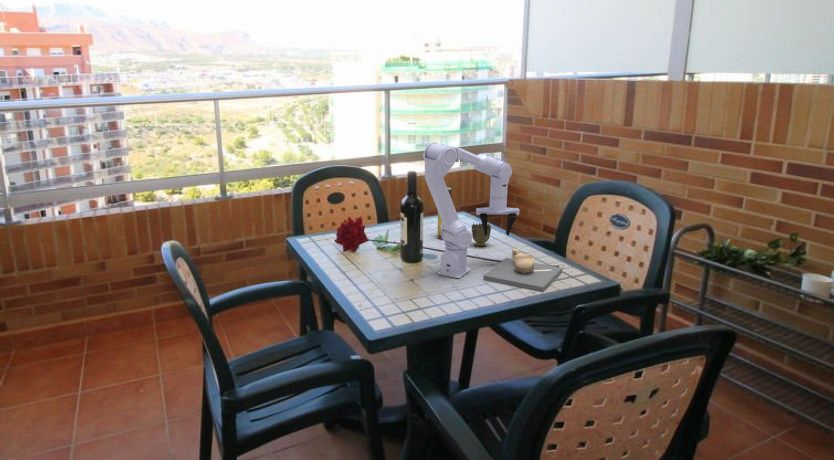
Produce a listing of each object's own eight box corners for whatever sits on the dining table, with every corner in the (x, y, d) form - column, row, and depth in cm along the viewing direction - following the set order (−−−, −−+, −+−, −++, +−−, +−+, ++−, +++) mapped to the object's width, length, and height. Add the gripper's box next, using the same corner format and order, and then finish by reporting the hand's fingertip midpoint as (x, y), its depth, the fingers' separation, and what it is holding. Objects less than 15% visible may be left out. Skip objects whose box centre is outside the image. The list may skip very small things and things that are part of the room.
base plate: (543, 291, 189) (543, 285, 189) (483, 279, 199) (483, 273, 198) (562, 271, 206) (562, 266, 206) (506, 261, 216) (506, 256, 215)
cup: (491, 248, 229) (492, 228, 227) (471, 248, 229) (472, 228, 227) (489, 242, 236) (490, 222, 234) (470, 242, 236) (471, 222, 234)
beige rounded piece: (536, 271, 199) (537, 259, 198) (517, 272, 198) (518, 261, 197) (523, 258, 211) (523, 247, 210) (505, 259, 210) (505, 248, 209)
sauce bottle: (452, 240, 238) (453, 190, 232) (436, 239, 239) (436, 190, 233) (454, 235, 244) (455, 187, 238) (438, 234, 245) (439, 186, 240)
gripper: (478, 199, 203) (477, 238, 207) (522, 199, 204) (519, 238, 208) (476, 194, 210) (474, 232, 214) (517, 194, 211) (515, 232, 215)
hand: (496, 234), depth 211 cm, fingers open, 7 cm apart
